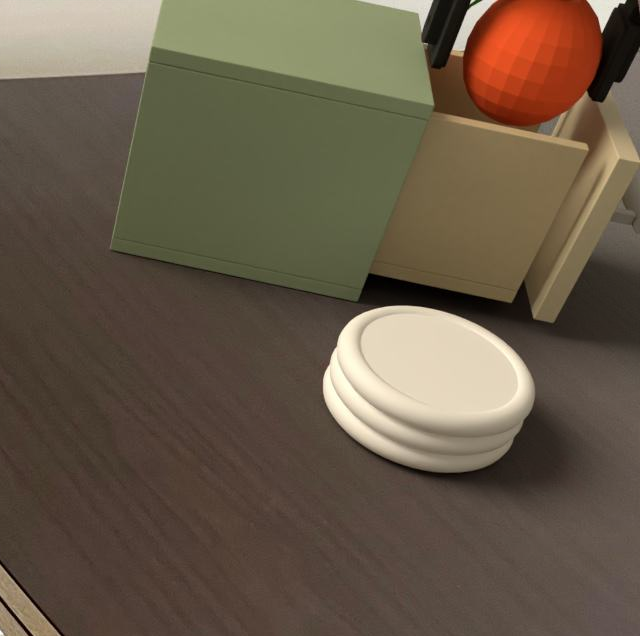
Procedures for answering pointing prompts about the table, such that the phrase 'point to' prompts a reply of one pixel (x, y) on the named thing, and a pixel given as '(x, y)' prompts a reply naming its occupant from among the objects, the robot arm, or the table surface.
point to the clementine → (531, 58)
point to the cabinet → (274, 139)
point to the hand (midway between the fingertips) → (513, 73)
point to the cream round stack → (427, 389)
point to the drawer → (508, 198)
